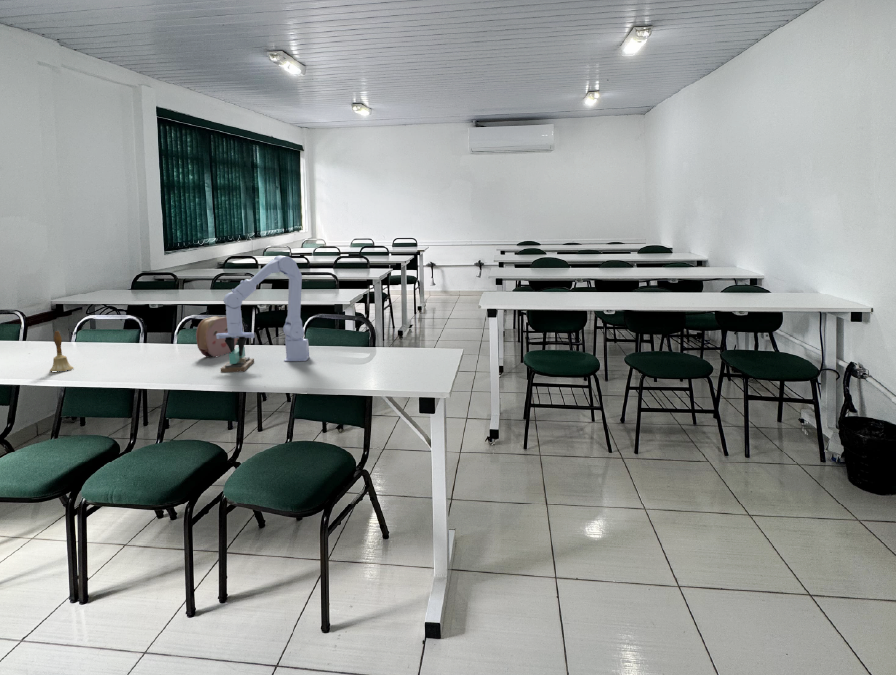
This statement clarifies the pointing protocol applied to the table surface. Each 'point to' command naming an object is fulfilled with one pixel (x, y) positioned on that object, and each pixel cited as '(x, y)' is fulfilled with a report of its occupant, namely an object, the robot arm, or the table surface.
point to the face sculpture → (212, 336)
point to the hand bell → (59, 356)
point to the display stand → (238, 365)
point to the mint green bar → (236, 356)
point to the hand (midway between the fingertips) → (237, 355)
